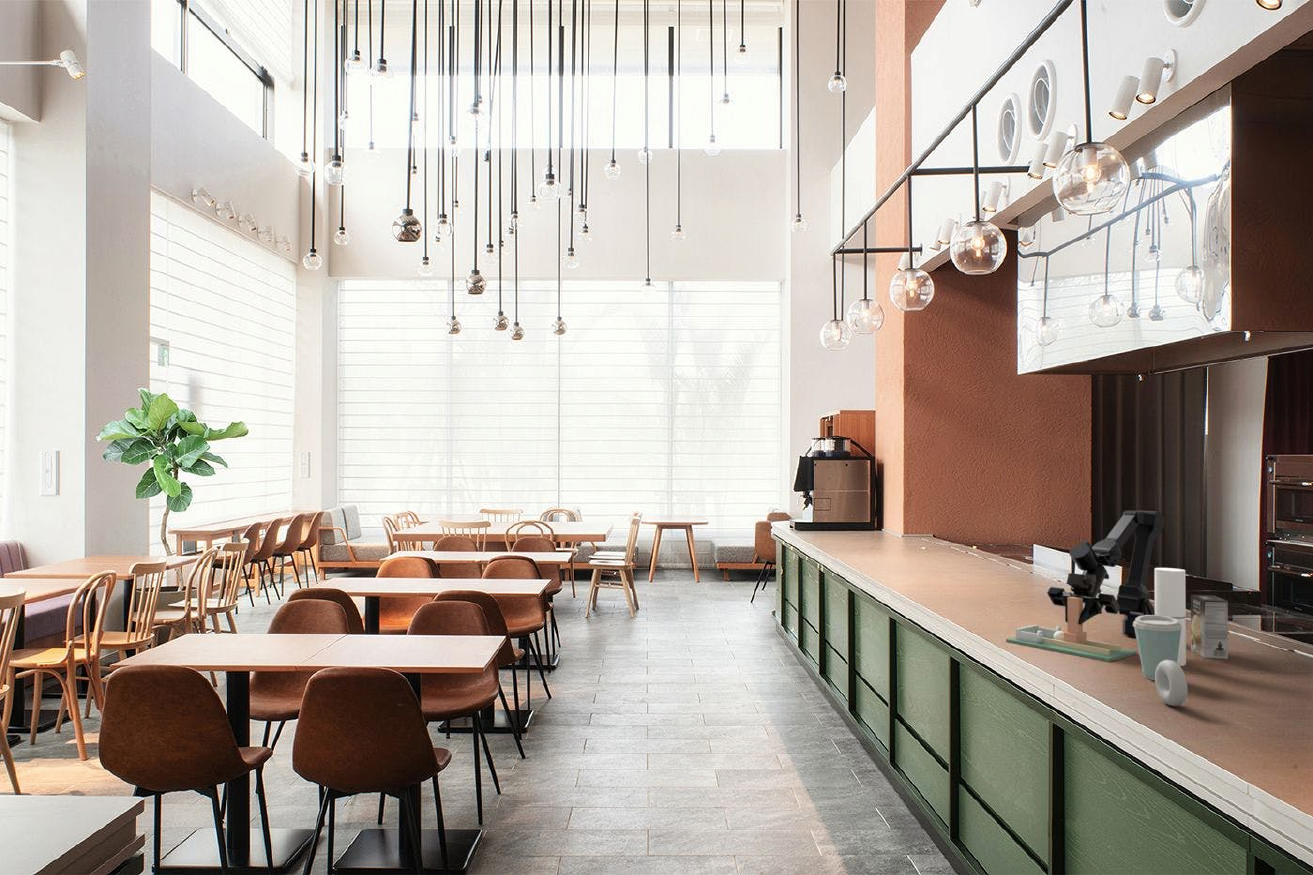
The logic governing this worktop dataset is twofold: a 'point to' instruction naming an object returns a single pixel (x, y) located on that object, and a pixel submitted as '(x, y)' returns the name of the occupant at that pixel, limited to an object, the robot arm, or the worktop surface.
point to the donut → (1171, 683)
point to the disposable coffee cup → (1156, 641)
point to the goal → (1035, 633)
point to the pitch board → (1080, 648)
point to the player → (1075, 622)
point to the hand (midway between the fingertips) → (1072, 622)
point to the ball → (1059, 636)
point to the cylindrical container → (1172, 602)
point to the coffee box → (1209, 626)
